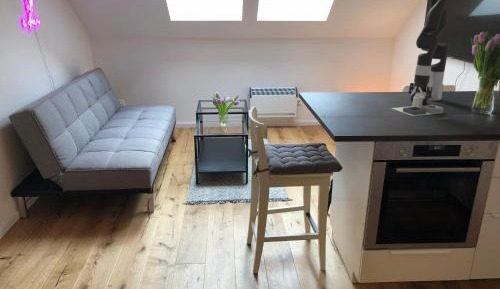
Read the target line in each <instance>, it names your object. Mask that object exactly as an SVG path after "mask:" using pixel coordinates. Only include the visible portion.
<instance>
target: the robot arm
mask: <svg viewBox="0 0 500 289" xmlns="http://www.w3.org/2000/svg"><path fill="white" fill-rule="evenodd" d="M447 3H448V0H429V11H428V12H427V14H426V17H425V21H424V25H423V28H422V30H421V31H420V33H419V34H418V37H417V39H416V41H415V43H416V48H418V49H424V50H427V52H424V53H419V54H418V55H417V61H416V62H417V63H416V67H415V72H414V73H415V74H414V80H413V82H410V83H409V88H408V94H410V103H412V102H413V97H414V96H415V95H416V94H417V93H418V92H419V93H421V95H422V96H423V101H422V105H428V101H432V102H433V101H434V102H436V101H437V102H438V101H441V100H442V95H443V90H444V85H445V84H444V83H443V82H444V76H445V71H446V66H447V59H448V54H449V50H450V45H449V44H448V43H445V42H439V40H440V39H439V35H440V34H441V33H442V32H443V31H444V30H445V29H446V27H447V25H448V22H449V18H448V17H449V13H448V12H449V11H448V9H447V8H446V5H447ZM433 60H439V62H437V63H433V64H432V62H433ZM424 92H425V93H424Z"/></svg>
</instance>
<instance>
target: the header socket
mask: <svg viewBox="0 0 500 289" xmlns="http://www.w3.org/2000/svg"><path fill="white" fill-rule="evenodd" d="M405 107H406V108H403V112H406V113H409V114H412V115H417V114H426V110H425V109H422V108H419V107H411V106H405ZM403 112H402V113H403ZM406 113H405V114H406ZM409 114H408V115H409Z"/></svg>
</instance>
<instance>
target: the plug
mask: <svg viewBox="0 0 500 289" xmlns="http://www.w3.org/2000/svg"><path fill="white" fill-rule="evenodd" d="M422 101H423V97H422V96H414V97H413V103H412V105H411V106H412V107H419V108H420V106H422Z"/></svg>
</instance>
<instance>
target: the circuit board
mask: <svg viewBox="0 0 500 289" xmlns="http://www.w3.org/2000/svg"><path fill="white" fill-rule="evenodd" d="M406 107H407V106H402V107H401V106H400V107H391V108H390V109H392V110H395V111H398V112H400V113H403V114H405V115H409V116H412V117H415V116H416V117H417V116H427V115H434V114H435V115H436V114H443V113H444V107H442V106H439V105H434V104H426V105H422V106H420V108H422V109H425V110H426V114H417V115H412V114H409V113H406V112H403V108H406ZM410 107H412V105H411V106H410Z"/></svg>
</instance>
